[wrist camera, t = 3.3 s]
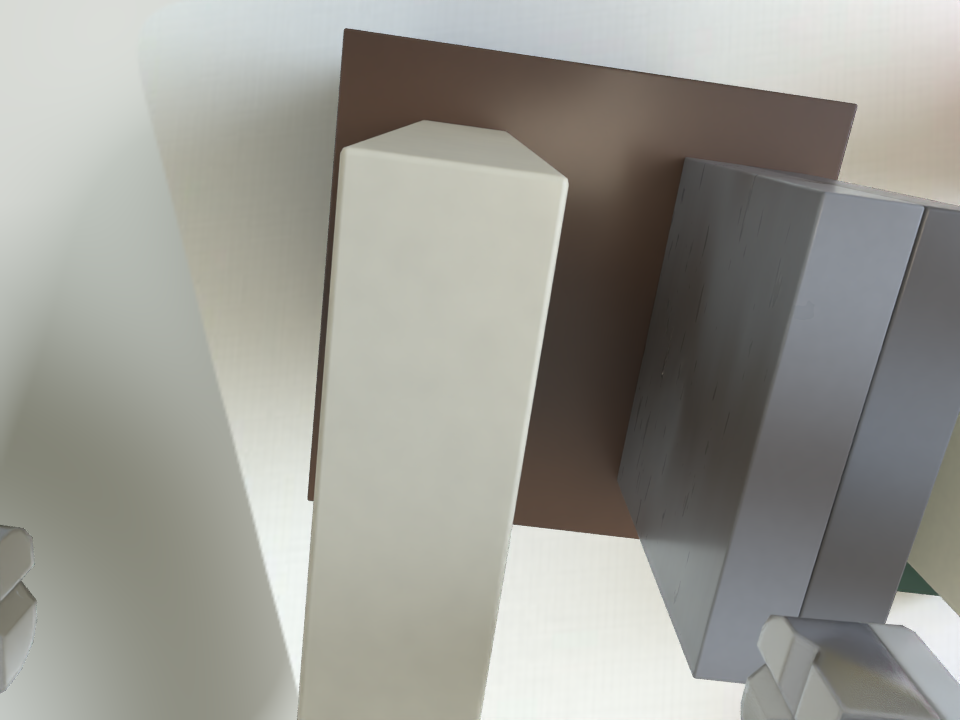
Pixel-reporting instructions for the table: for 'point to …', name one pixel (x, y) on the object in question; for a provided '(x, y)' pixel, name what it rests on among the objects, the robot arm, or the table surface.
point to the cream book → (424, 416)
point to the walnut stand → (709, 332)
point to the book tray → (939, 535)
